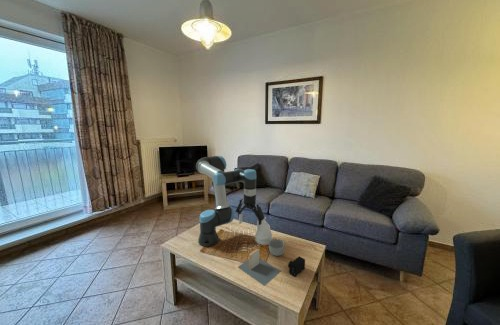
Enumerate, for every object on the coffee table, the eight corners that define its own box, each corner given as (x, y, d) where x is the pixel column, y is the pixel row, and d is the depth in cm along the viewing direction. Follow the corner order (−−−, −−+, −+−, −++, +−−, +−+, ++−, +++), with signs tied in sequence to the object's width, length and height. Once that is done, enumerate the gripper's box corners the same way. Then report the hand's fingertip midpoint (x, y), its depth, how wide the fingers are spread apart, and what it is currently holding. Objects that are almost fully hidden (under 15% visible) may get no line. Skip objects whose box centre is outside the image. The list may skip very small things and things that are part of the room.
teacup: (283, 259, 138) (284, 248, 137) (267, 257, 140) (267, 246, 139) (284, 247, 152) (285, 237, 150) (269, 245, 154) (270, 235, 152)
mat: (237, 267, 130) (237, 267, 130) (254, 256, 142) (254, 255, 141) (264, 286, 115) (264, 285, 115) (281, 271, 127) (281, 271, 127)
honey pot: (256, 235, 168) (257, 214, 165) (272, 236, 165) (273, 215, 162) (253, 244, 156) (254, 221, 152) (271, 246, 153) (271, 223, 150)
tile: (249, 268, 129) (249, 254, 127) (257, 262, 134) (257, 248, 133) (251, 270, 128) (251, 255, 126) (259, 263, 133) (259, 249, 131)
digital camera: (297, 264, 133) (297, 255, 132) (304, 269, 129) (305, 259, 128) (287, 272, 126) (287, 262, 125) (295, 277, 122) (295, 267, 121)
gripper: (230, 192, 132) (230, 222, 136) (264, 200, 119) (263, 234, 123) (237, 188, 138) (237, 218, 142) (270, 196, 125) (269, 228, 129)
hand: (249, 225), depth 133 cm, fingers open, 13 cm apart
